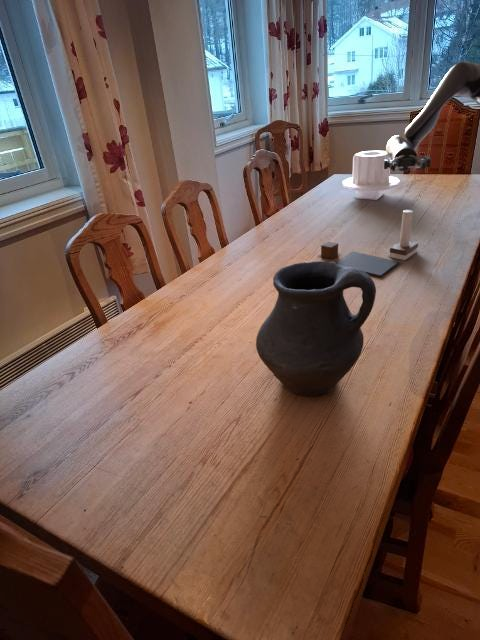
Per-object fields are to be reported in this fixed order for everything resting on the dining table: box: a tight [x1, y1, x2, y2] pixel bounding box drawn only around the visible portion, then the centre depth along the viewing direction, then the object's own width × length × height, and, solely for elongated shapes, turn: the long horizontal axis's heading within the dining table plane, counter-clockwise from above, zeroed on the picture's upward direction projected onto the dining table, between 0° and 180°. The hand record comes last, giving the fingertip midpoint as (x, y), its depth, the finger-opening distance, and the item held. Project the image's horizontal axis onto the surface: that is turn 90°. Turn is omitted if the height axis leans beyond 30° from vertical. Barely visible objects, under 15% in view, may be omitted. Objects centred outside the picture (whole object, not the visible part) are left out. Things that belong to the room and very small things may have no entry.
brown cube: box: [320, 241, 339, 260], centre depth 142 cm, size 4×4×4 cm
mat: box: [335, 251, 400, 278], centre depth 134 cm, size 16×12×1 cm
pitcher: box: [255, 260, 377, 397], centre depth 81 cm, size 21×22×25 cm
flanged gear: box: [342, 150, 400, 201], centre depth 196 cm, size 25×25×19 cm
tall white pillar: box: [389, 209, 419, 261], centre depth 135 cm, size 8×5×14 cm, turn 136°
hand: (408, 167), depth 135 cm, fingers open, 8 cm apart
